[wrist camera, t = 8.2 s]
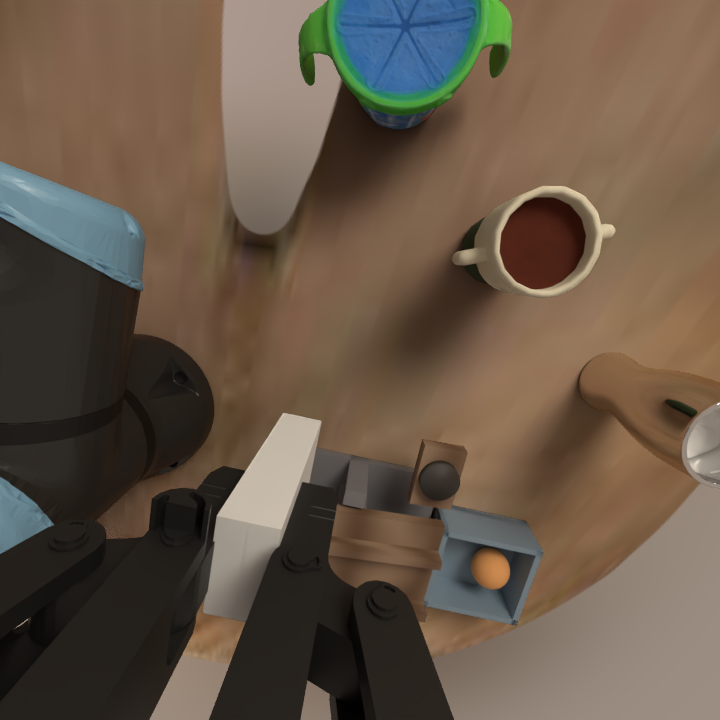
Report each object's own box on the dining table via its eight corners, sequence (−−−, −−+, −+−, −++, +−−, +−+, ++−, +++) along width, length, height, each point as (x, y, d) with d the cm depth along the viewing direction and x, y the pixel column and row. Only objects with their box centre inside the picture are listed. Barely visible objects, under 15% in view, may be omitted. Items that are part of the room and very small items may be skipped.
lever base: (258, 561, 48) (238, 610, 41) (279, 439, 44) (261, 471, 38) (406, 593, 48) (410, 647, 41) (440, 474, 44) (451, 511, 38)
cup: (417, 570, 47) (421, 605, 42) (436, 502, 45) (443, 530, 40) (502, 588, 47) (516, 625, 43) (525, 521, 45) (543, 551, 40)
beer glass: (621, 423, 42) (749, 507, 28) (561, 398, 42) (658, 469, 27) (657, 363, 41) (814, 419, 26) (595, 337, 40) (718, 377, 26)
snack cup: (308, 142, 37) (283, 98, 28) (315, 9, 35) (291, -91, 25) (477, 157, 37) (513, 118, 27) (497, 24, 35) (544, -72, 25)
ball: (494, 571, 46) (461, 567, 45) (504, 541, 45) (470, 537, 45) (510, 600, 42) (474, 596, 42) (521, 568, 41) (485, 564, 41)
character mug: (441, 297, 40) (469, 312, 27) (430, 223, 39) (456, 202, 26) (553, 277, 39) (636, 283, 27) (547, 200, 38) (633, 167, 25)
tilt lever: (244, 581, 42) (230, 629, 37) (273, 404, 38) (263, 429, 32) (409, 602, 44) (419, 651, 39) (457, 437, 40) (476, 465, 34)
